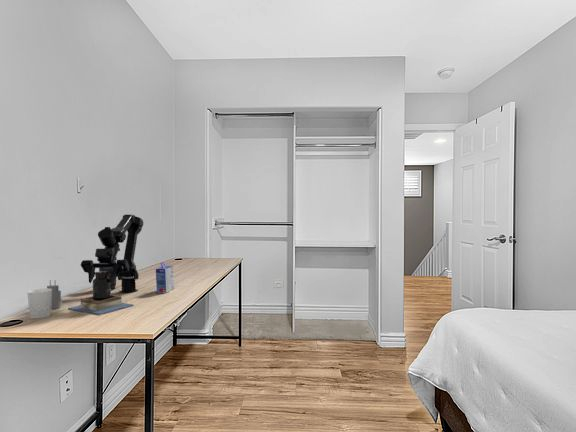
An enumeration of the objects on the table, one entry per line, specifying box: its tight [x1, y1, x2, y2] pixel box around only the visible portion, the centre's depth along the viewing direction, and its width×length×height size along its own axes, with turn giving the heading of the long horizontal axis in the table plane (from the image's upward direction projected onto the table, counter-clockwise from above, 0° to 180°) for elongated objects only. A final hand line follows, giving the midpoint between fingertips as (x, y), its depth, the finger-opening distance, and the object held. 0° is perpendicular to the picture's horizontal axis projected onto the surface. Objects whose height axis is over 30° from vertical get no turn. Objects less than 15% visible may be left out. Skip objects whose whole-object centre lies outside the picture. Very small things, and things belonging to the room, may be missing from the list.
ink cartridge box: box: [155, 261, 175, 294], centre depth 189 cm, size 10×6×14 cm, turn 174°
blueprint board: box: [67, 302, 135, 316], centre depth 157 cm, size 20×16×1 cm
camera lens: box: [98, 260, 117, 291], centre depth 194 cm, size 8×8×15 cm
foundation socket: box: [80, 294, 123, 311], centre depth 157 cm, size 11×11×4 cm
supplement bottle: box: [92, 271, 112, 301], centre depth 157 cm, size 7×7×12 cm
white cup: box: [27, 287, 52, 319], centre depth 144 cm, size 8×8×10 cm
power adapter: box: [46, 280, 62, 311], centre depth 156 cm, size 3×5×12 cm, turn 100°
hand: (99, 282), depth 155 cm, fingers open, 8 cm apart
